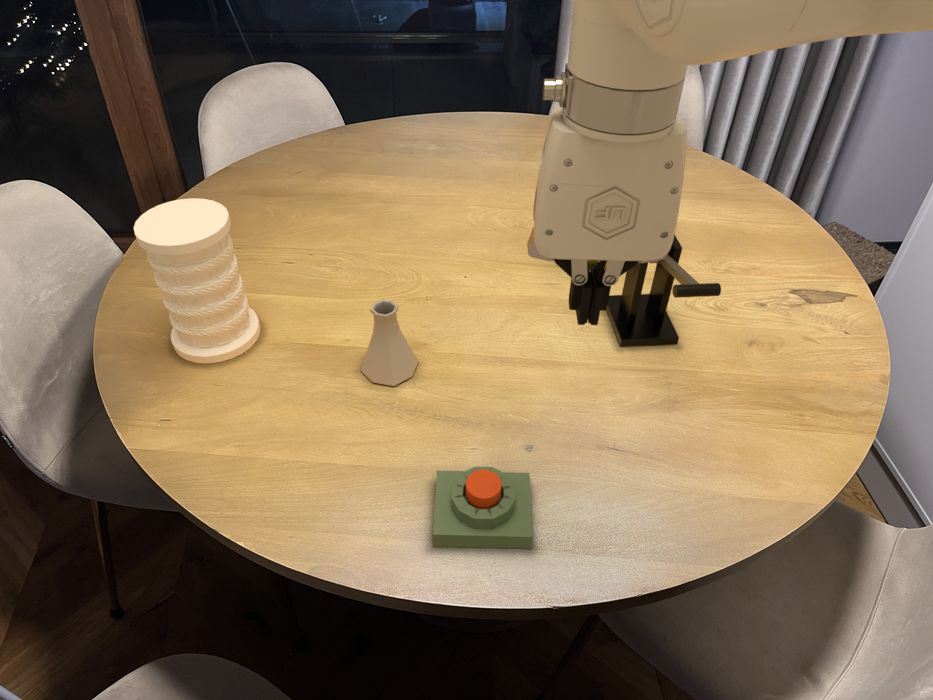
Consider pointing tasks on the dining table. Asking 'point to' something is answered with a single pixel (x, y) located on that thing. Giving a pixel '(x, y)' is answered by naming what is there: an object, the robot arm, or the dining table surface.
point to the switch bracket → (644, 306)
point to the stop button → (483, 488)
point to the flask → (388, 348)
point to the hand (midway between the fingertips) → (585, 314)
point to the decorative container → (198, 279)
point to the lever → (687, 281)
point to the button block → (482, 513)
